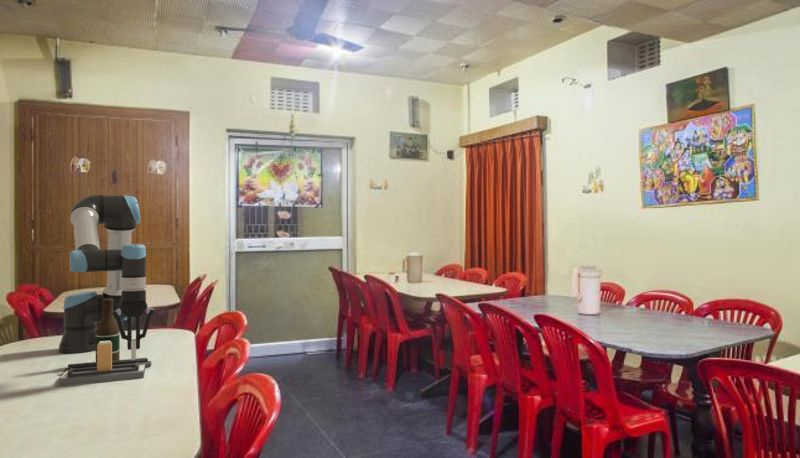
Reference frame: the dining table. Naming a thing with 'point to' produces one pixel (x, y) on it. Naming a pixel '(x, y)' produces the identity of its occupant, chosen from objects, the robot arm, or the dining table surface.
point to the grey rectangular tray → (102, 374)
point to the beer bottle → (108, 329)
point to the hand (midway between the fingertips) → (133, 358)
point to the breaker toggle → (104, 356)
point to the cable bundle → (114, 363)
